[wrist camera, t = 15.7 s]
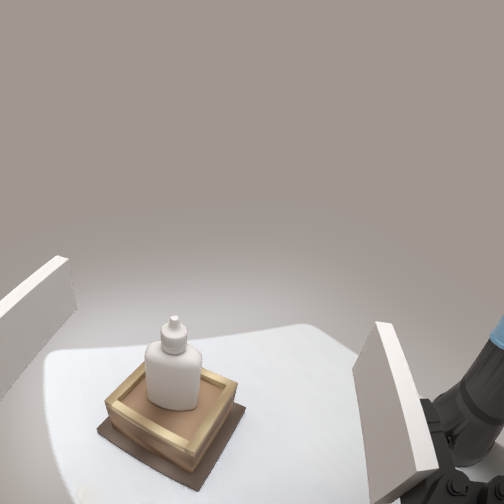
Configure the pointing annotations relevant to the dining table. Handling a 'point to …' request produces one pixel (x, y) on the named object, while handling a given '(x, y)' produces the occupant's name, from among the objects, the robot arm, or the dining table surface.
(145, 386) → the display pedestal
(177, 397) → the eye dropper bottle
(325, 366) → the dining table surface
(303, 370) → the dining table surface
